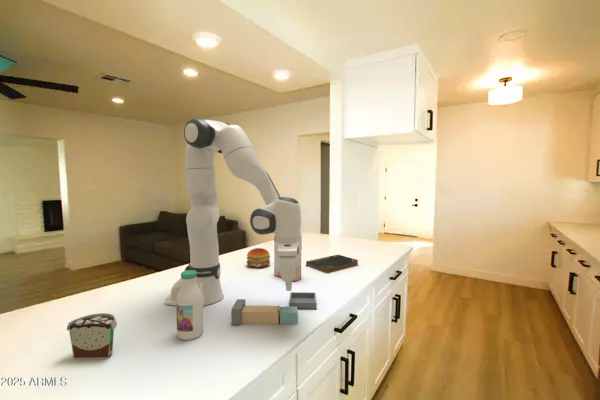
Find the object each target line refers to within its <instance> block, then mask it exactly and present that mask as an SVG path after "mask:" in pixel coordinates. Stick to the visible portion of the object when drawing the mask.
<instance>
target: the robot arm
mask: <svg viewBox="0 0 600 400" xmlns="http://www.w3.org/2000/svg"><path fill="white" fill-rule="evenodd" d="M183 137H184V140H185V141H186V143H187V144H186V147H185V155H184V170H185V182H186V191H187V194H188V198H189V203H190V209H189V210H188V212H187V214H186V218H185V223H186V230H187V236H188V237H187V238H188V242H189V254H190V255H189V260H190V263H188V265H187V266H186V267H185V268H184V270H183V271H187V270H195V271H196V272H197V278H196V282H197V285H198V287H199V289H200V291H201V294H202V302H203V307H204V306H207V305H211V304H212V305H213V304H215V303H218V302H219V301H221V300H223V299H224V294H223V290H222V285H221V278H220V277H221V263H220V260H219V259H220V258H219V257H220V256H219V254H220V252H219V250H220V249H219V247H220V245H219V237H218V225H217V224H218V222H219V219H220V207H219V200H218V195H217V194H218V193H217V185H216V171H215V170H216V169H215V161H214V158H215V155H216V154H217V153H219V154H222V156H223V159H224V160H225V164H226V166H227V168H228V170H229V171H230V173H231V174H232V175H233V176H234V177H236V178H237V179H240V180H243V181H245V182H248V183H250V184H251V185H252V186H254V187H255V188H256V189H257V190H258V191H259V195H261V197H262V199H263V201H264V203H265V205H264V206H260V207H258V208H256V209H254V210H253V211H252V212H251V214H250V218H249V224H250V227H251V229H252V230H253V232H254V233H256V235H257V234H258V235H260V236H261V235H263V236H264V235H270V234H274V236H276V251H277V256H279V262H280V271H281V278H280V279H281V281H283V282H284V283H285V291H286V292H292V288H293V285H292V282H293V279H294V271H295V264H296V257H297V255H298V253H299V252H300V251H301V252H302V250H303V247H302V246H303V245H302V243H303V242H302V241H303V240H302V232H301V226H302V212H301V206H300V202H299V201H298V200H297V199H296V198H293V197H289V196H288V197H287V196H281V195H280V193H279V192H278V190H277V188H276V185H275V184H274V182H273V180H272V178H271V176H270V175H269V173H268V171H267V170H266V169H265V167H264V166H263V165H262V163H261V161H260V160H259V158H258V154H257V153H256V151H255V149H254V146H253V144H252V143H251V141H250V138H249V137H248V135H247V134H246V132H245V130H244V129H243V128H242V127H241V126H240V125H237V124H231V123H230V124H229V123H227V122H222V121H219V120H214V119H203V118H192V119H190V120H188V121H187V122H186V123H185V126H184V128H183ZM181 284H182V280H181V278H179V279H178V280H176V282H175V283H174V284H173V285H172V287H171V290H170V294H169V295H167V296H166V297H165V299H164V305H166V306H174V307H175V306H176V301H177V295H178V292H179V290H180V288H181Z"/></svg>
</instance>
